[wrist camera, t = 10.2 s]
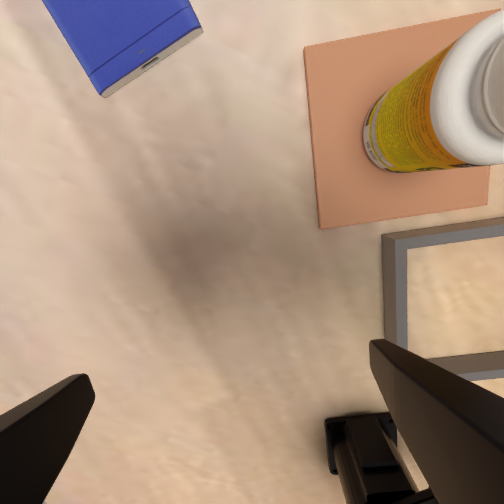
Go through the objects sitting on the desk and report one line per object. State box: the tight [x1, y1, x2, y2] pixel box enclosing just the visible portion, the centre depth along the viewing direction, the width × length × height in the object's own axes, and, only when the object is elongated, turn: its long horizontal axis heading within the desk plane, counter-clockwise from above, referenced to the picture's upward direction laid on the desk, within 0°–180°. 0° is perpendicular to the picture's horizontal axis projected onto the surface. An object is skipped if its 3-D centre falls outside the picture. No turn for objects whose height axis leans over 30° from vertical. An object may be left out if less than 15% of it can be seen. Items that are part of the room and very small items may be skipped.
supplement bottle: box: [363, 9, 504, 173], centre depth 13 cm, size 6×6×10 cm
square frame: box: [382, 217, 504, 381], centre depth 20 cm, size 13×13×2 cm
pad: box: [304, 9, 501, 229], centre depth 18 cm, size 12×12×1 cm
